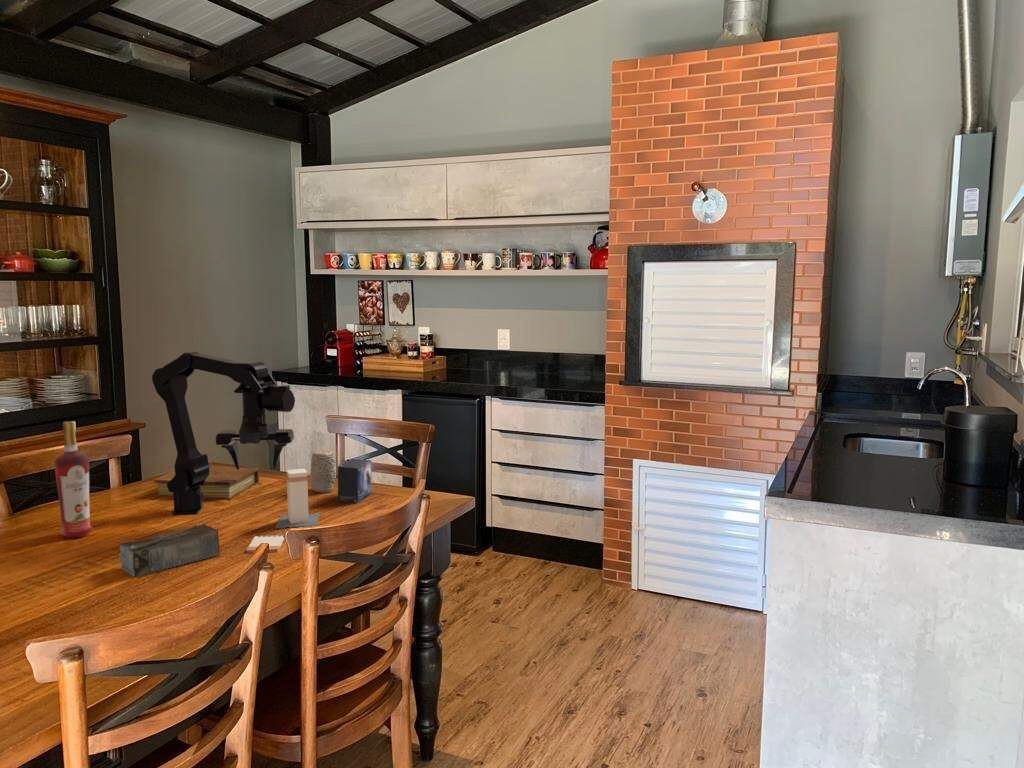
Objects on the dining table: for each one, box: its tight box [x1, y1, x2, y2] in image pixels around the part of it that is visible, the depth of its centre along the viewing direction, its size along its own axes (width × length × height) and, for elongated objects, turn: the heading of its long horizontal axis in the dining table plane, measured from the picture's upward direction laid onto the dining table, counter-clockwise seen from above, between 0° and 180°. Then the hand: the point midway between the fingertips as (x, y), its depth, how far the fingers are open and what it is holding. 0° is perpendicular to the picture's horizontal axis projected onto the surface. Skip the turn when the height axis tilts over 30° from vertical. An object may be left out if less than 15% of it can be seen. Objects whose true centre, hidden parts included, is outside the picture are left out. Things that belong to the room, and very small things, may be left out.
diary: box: [153, 465, 260, 500], centre depth 228 cm, size 23×19×6 cm
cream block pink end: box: [245, 534, 285, 554], centre depth 180 cm, size 10×7×1 cm
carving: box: [309, 449, 337, 493], centre depth 227 cm, size 6×8×12 cm
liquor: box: [53, 420, 93, 539], centre depth 184 cm, size 7×7×28 cm
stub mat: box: [274, 513, 321, 529], centre depth 198 cm, size 10×10×1 cm
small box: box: [337, 458, 372, 504], centre depth 220 cm, size 11×6×10 cm, turn 168°
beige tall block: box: [286, 468, 309, 524], centre depth 197 cm, size 5×5×13 cm
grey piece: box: [119, 523, 221, 578], centre depth 168 cm, size 8×19×7 cm, turn 136°
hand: (256, 469), depth 200 cm, fingers open, 9 cm apart
